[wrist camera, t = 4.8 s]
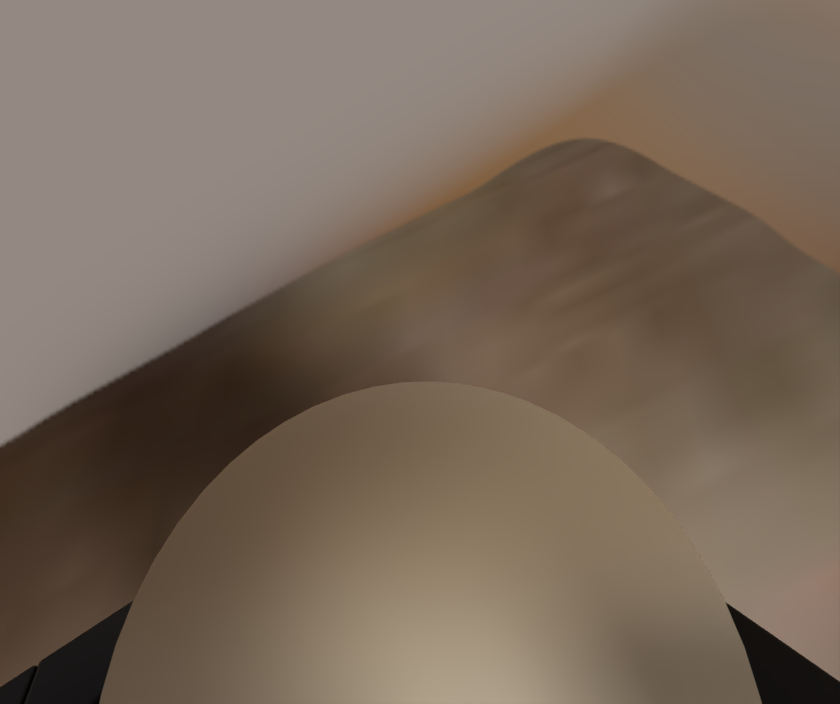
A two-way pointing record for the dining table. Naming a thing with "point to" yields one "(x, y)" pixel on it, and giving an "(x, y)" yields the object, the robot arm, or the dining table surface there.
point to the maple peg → (428, 570)
